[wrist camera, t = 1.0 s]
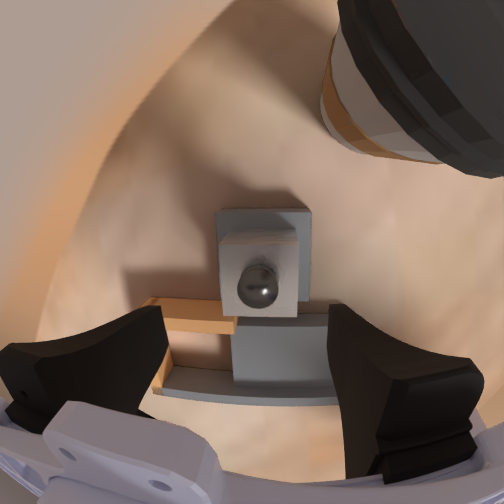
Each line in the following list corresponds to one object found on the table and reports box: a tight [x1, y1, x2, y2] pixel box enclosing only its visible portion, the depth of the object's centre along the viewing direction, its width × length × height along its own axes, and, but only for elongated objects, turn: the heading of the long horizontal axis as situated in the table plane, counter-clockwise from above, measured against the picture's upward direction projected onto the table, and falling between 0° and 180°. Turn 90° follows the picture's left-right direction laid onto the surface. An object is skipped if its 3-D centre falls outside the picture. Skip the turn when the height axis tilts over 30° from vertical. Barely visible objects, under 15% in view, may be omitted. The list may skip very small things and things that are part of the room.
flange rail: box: [140, 297, 339, 406], centre depth 21 cm, size 16×8×3 cm, turn 91°
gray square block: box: [215, 208, 312, 301], centre depth 20 cm, size 6×6×2 cm
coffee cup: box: [320, 0, 504, 179], centre depth 10 cm, size 8×8×15 cm
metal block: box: [218, 228, 299, 317], centre depth 16 cm, size 4×4×5 cm
